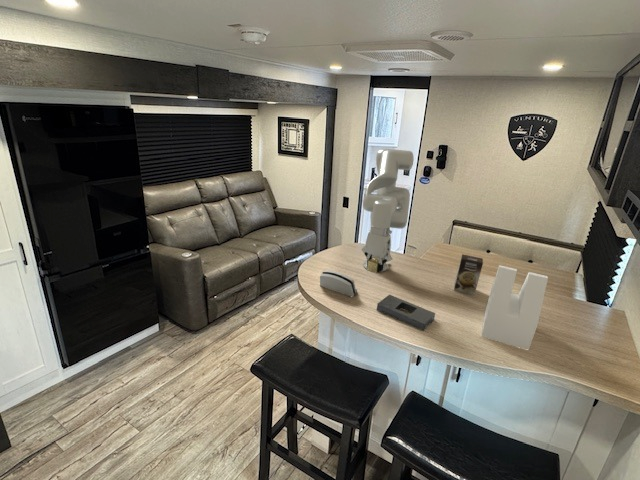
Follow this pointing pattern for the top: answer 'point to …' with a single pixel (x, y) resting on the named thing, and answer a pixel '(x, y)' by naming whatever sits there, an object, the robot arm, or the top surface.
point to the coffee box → (468, 274)
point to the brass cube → (373, 265)
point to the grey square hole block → (417, 318)
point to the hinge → (338, 282)
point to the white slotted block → (514, 308)
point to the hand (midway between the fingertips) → (374, 269)
